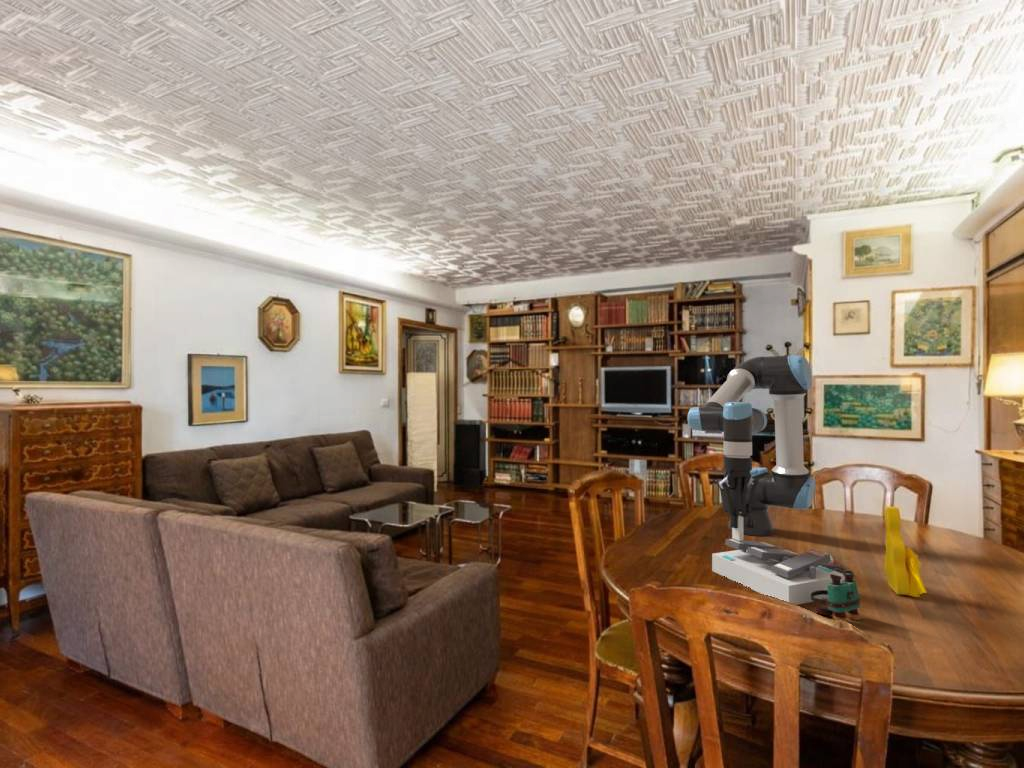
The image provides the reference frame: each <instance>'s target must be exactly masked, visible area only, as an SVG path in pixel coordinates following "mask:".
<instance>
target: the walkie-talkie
mask: <svg viewBox="0 0 1024 768" xmlns="http://www.w3.org/2000/svg"><path fill="white" fill-rule="evenodd" d="M825 554H828V555H830V559H831V561H830V562H828V563H825V564H823V565H820V566H822V567H825V568H828V569H831V570H834V571H836V572H839V573H842V574H843V572H844V571H845V567H844V566H843V565H842V564H841V562H839V561H838V560H837V558H836V557H835V556H833V555H832V554H830V553H826V552H825Z"/></svg>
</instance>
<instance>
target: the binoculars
mask: <svg viewBox="0 0 1024 768" xmlns="http://www.w3.org/2000/svg"><path fill="white" fill-rule="evenodd" d="M843 575H844V576H845V580H843V581H841V583H840V580H841V576H837V575H833V574H830V576H831V579H832V583H829V584H828V590H819V591H815V592H812V593H811V600H812V601H814V603H817V604H821V605H822V606H815V613H816V614H821V615H824V616H825V615H827V616H830V617H832V619H833V620H834V619H836V620H842V621H847V622H848V618H849V619H851V620H855V621H860V620H861V614H860V613H859V610H858V609H859V608H861V606H860V604H861V599H860V596H859V591H858V584H857V581H856V580H854V576H855V575H854V571H853V570H850V569H849V570H844V572H843ZM816 595H828V599H826V598H824V597H822V599H818V598H814V596H816ZM823 598H824V599H823ZM825 600H826V601H825ZM825 604H826V605H825Z"/></svg>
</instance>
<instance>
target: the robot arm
mask: <svg viewBox="0 0 1024 768" xmlns="http://www.w3.org/2000/svg"><path fill="white" fill-rule="evenodd" d="M812 374H813V373H812V369H811V366H810V363H809V361H808V359H807V358H806V357H805V356H803V355H797V354H796V355H794V354H792V355H791V354H789V355H774V356H771V355H770V356H756V357H752V358H749V359H747V360H745V361H743V362H741V363H739V364H738V365H736V366H735V367H734V368H733V369H731V370H730V372H729V373H728V374H727V377H726V381H724V382H723V384H721V386H720V387H719V388H718V389H717V391H715V392H714V394H713V395H712V396H711V397H710V398H709V399H708V400H707V401H706V402H705V403H704V404H703V405H702V406H693V407H691V408H690V409H689V410H688V413H687V423H688V426H689V428H690V429H691V430H693V431H700V432H720V433H722V434H723V455H724V456H723V462H722V463H723V469H724V471H725V472H724V475H723V479H722V480H721V481H719V480H718V481H717V482H716V485H717V486H718V489H720V495H721V497H720V498H721V501H722V506H723V512H724V514H726V515H728V516H730V519H729V520H728V529H729V530H730V531H731V534H732V536H731V539H734V540H739V541H741V540H743V541H745V539H744V535H748V536H756V537H757V536H761V537H763V536H769V535H772V534H774V525H773V523H772V521H771V517H770V514H769V511H768V510H769V506H774V507H781V508H787V509H792V510H807V509H809V508H810V507H811V505H812V504H813V502H814V496H815V491H816V479H815V478H814V477H813V476H810V470H809V469H808V468H806V466H805V463H804V461H805V460H804V434H803V433H804V432H803V431H804V429H803V427H804V426H803V407H802V406H803V402H802V401H803V400H802V399H803V398H804V397H805V396H806V394H807V390H809V389H811V388H812V385H813V375H812ZM759 389H761V390H762V389H763V390H768V394H769V396H770V397H771V398H772V399H773V405H774V406H773V409H774V434H775V435H774V437H775V461H776V462H775V463H776V465H775V466H773V467H772V469H771V472H769V471H768V468H767V467H753V458H752V457H751V456H753V434H757V433H759V432H762V431H764V429H765V428H766V426H767V424H768V418H767V415H766V413H765V412H764V411H763V410H761V409H759V408H755V407H753V406H752V404H751V402H745V401H742V402H741V401H740V400H741V399H742V398H743V397H744V395H745V394H747V393H750V392H752V391H753V390H759Z"/></svg>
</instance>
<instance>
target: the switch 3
mask: <svg viewBox="0 0 1024 768" xmlns="http://www.w3.org/2000/svg"><path fill="white" fill-rule="evenodd" d="M825 553H826V552H825ZM825 553H824V552H821V551H818V550H814V549H811V550H810V549H809V550H808V551H806V552H803V553H799V554H800V555H798V556H795V557H793V558H790V559H788V560H785V561H783V562H780V563H777V564H775V565H772V566H771V569H772V572H773V573H776V574H778V575H780V576H783V577H785V578H788V579H789V578H791V577H794V576H796V575H799V574H801V573H803V572H806V571H808V570H809V567H810V566H814V567H818V566H820V565H823V564H825V563H828V562H830V561H831V559H830V555H831V554H830V555H828V554H829V553H828V554H825Z"/></svg>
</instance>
